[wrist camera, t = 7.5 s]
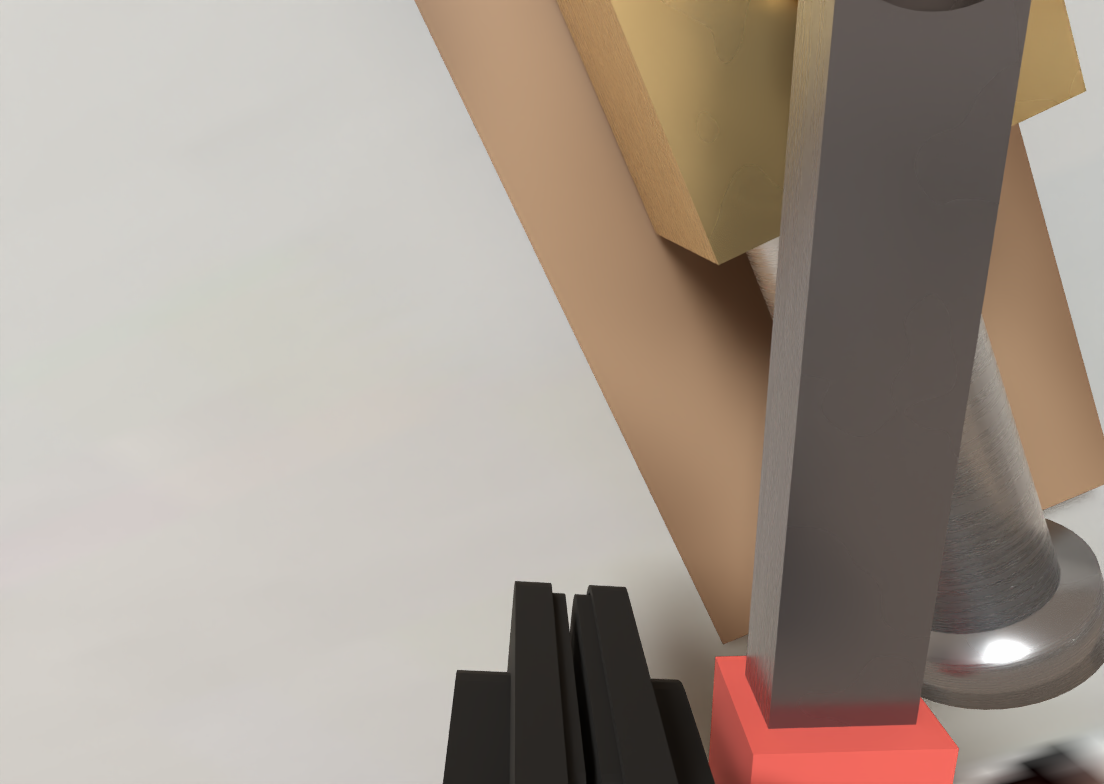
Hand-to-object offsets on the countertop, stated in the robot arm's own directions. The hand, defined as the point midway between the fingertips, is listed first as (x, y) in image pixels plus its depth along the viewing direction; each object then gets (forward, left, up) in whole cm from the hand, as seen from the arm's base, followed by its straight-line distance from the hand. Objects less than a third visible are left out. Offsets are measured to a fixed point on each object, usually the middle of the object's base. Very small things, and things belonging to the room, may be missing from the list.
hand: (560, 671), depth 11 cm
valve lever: (-4, -2, +1) cm, 5 cm away
